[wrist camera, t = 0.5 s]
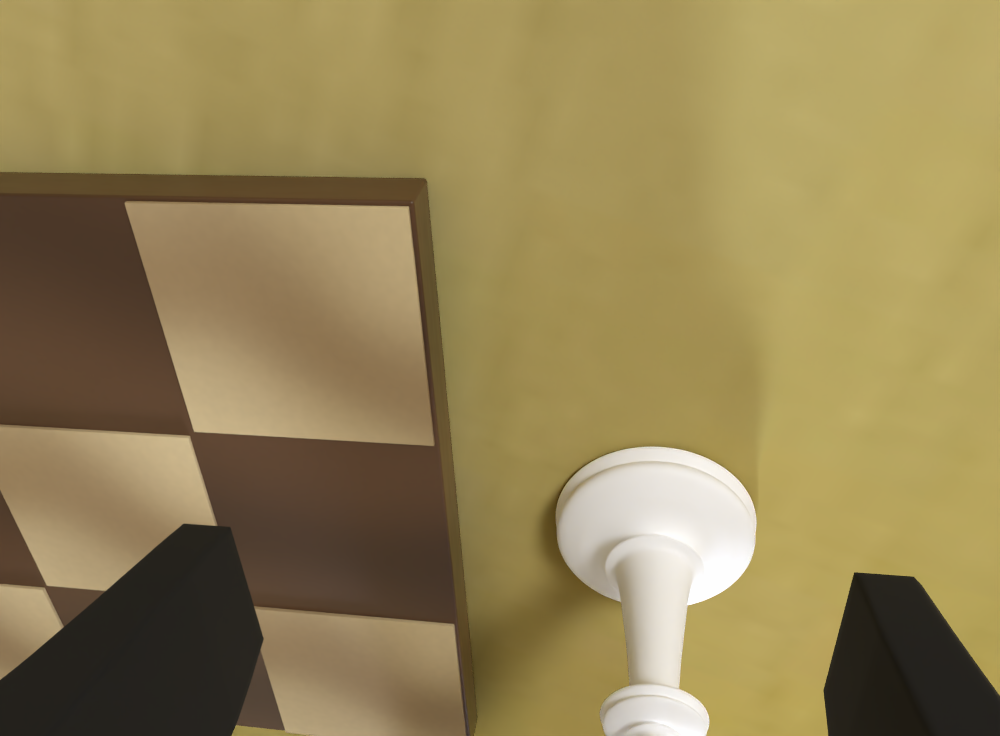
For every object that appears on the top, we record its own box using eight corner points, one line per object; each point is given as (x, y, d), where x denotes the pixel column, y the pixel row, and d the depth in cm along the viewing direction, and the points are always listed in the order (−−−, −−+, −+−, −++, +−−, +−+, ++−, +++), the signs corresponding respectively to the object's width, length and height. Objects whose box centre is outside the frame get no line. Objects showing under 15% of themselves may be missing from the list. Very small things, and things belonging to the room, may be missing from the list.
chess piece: (630, 612, 24) (618, 1052, 16) (516, 499, 22) (436, 927, 14) (794, 544, 21) (881, 1016, 13) (681, 412, 20) (702, 862, 12)
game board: (477, 716, 27) (470, 754, 26) (-34, 663, 30) (-60, 696, 29) (426, 177, 17) (412, 203, 16) (-337, 166, 20) (-392, 188, 19)
